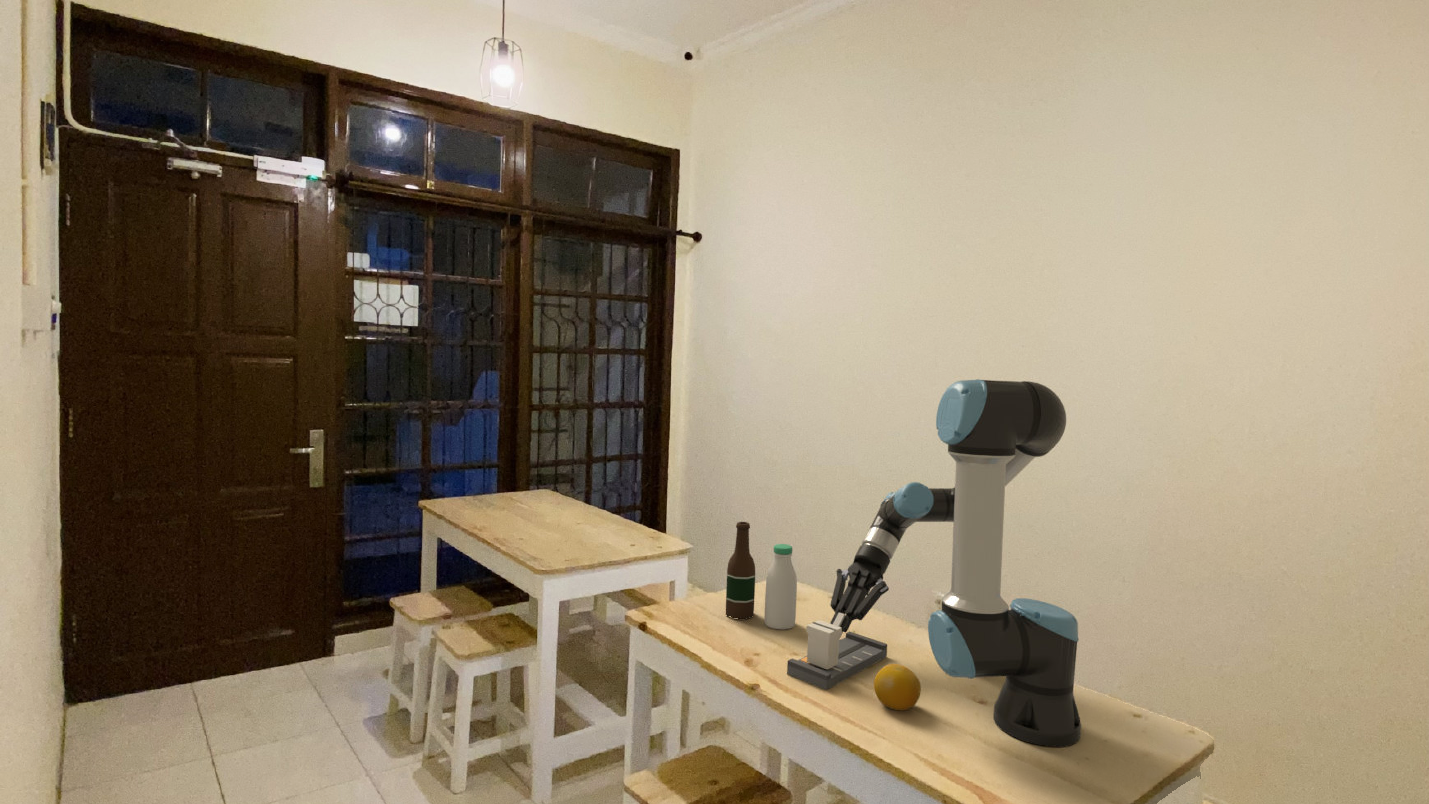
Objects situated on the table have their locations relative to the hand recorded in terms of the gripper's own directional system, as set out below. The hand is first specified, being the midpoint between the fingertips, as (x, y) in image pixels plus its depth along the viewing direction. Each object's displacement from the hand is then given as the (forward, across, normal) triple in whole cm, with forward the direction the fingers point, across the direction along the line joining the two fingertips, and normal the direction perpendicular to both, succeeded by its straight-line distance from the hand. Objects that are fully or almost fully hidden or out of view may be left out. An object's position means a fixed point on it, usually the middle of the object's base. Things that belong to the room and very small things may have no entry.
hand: (831, 642), depth 164 cm
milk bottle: (-4, +23, -13) cm, 27 cm away
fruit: (+8, -19, -1) cm, 20 cm away
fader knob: (+5, 0, 0) cm, 5 cm away
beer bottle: (-2, +34, -11) cm, 36 cm away
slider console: (+2, 0, -6) cm, 7 cm away
